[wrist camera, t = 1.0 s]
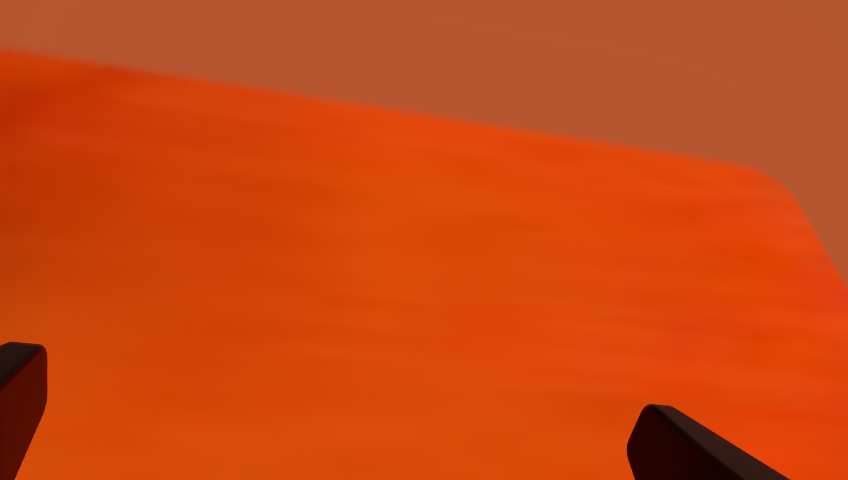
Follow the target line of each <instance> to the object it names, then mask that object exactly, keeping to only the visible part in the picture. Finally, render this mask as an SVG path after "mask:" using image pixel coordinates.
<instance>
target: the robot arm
mask: <svg viewBox="0 0 848 480" xmlns="http://www.w3.org/2000/svg"><path fill="white" fill-rule="evenodd" d="M46 402H47V352H46V349H45V348H44V347H43V346H42V345H40V344H30V343H20V342H8V343H6V344H3V345H1V346H0V480H14V479H15V477H16V475H17V473H18V470H19V468H20V466H21V463H22V461H23V459H24V457H25V454H26V452H27V450H28V447H29V445H30V443H31V441H32V438H33V436H34V434H35V431H36V429H37V427H38V425H39V422H40V420H41V418H42V415H43V413H44V410H45V406H46ZM627 456H628V460H629V463H630V466H631V469H632V472H633V475H634V478H635V480H790V479H788V478H787V477H785V476H783V475H782V474H780V473H778V472H777V471H775V470H774V469H772V468H770V467H769V466H767V465H766V464H764V463H762V462H761V461H759V460H758V459H756V458H754V457H753V456H751V455H749V454H748V453H746V452H745V451H743V450H741V449H740V448H738V447H737V446H735V445H733V444H732V443H730V442H729V441H727V440H725V439H724V438H722V437H720V436H719V435H717V434H716V433H714V432H712V431H711V430H709V429H708V428H706V427H704V426H703V425H701V424H700V423H698V422H696V421H695V420H693V419H691V418H690V417H688V416H687V415H685V414H683V413H682V412H680V411H679V410H677V409H675V408H674V407H671V406H667V405H656V404H649V405H647V406H645V407H644V408H643V410H642V411H641V413H640V416H639V418H638V420H637V422H636V425H635V427H634V429H633V431H632V433H631V436H630V438H629V440H628V444H627Z"/></svg>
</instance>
